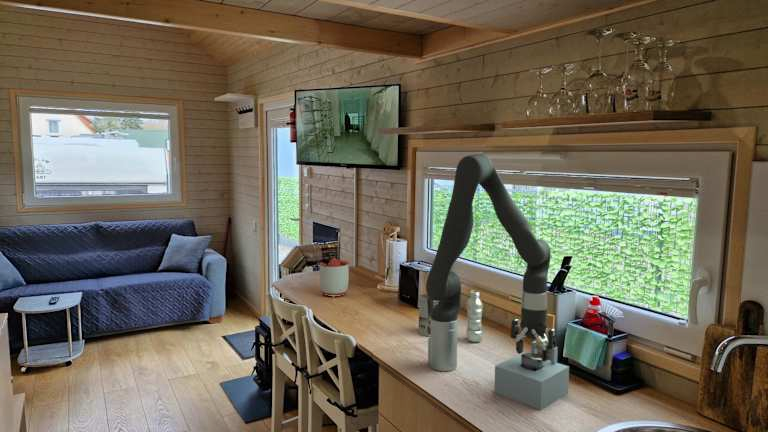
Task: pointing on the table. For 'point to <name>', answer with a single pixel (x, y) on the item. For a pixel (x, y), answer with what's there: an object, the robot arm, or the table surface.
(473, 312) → the plastic bottle
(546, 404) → the block
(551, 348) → the robot arm
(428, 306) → the coffee box
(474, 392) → the table surface
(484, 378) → the table surface
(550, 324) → the tan flat wooden board
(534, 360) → the pin
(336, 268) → the pale green pot
